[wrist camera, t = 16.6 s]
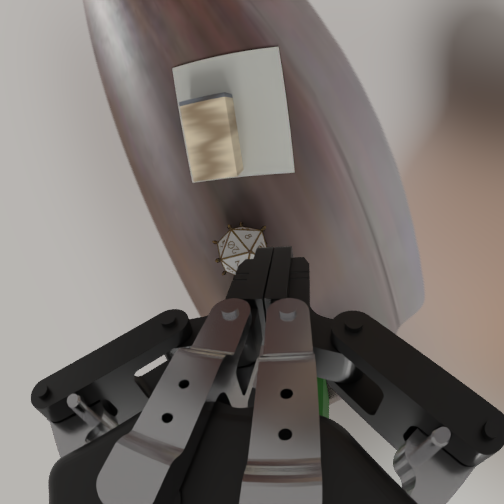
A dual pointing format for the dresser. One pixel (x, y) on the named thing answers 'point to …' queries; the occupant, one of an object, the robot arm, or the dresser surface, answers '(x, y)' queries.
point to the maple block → (211, 136)
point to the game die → (239, 246)
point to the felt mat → (246, 104)
